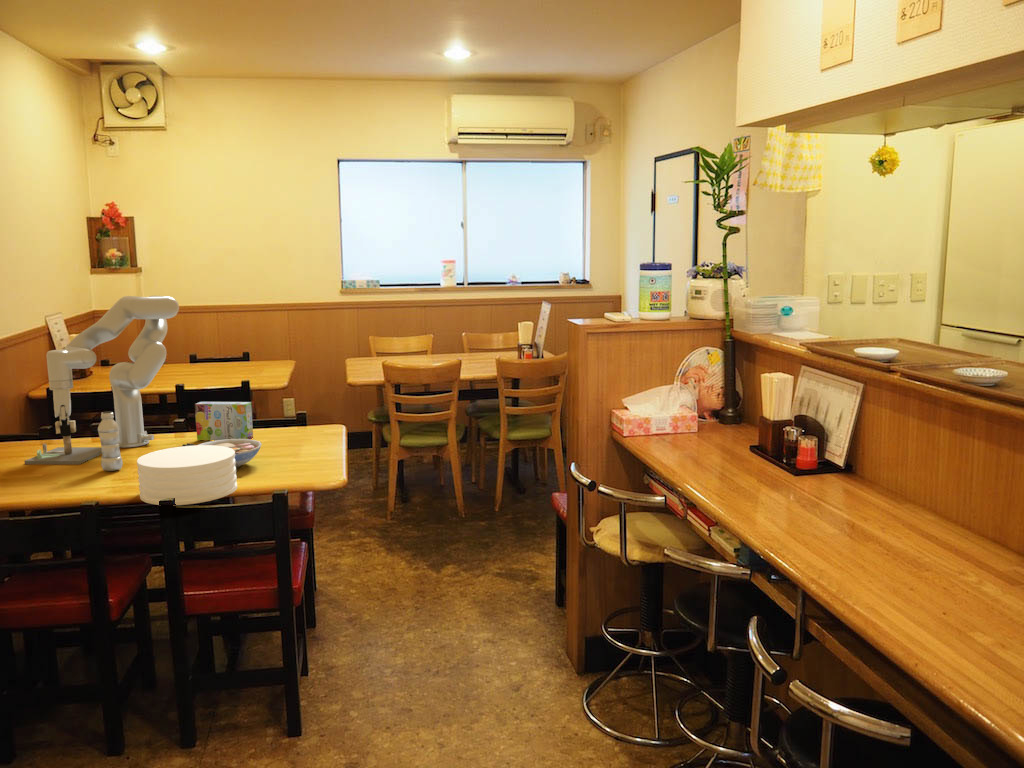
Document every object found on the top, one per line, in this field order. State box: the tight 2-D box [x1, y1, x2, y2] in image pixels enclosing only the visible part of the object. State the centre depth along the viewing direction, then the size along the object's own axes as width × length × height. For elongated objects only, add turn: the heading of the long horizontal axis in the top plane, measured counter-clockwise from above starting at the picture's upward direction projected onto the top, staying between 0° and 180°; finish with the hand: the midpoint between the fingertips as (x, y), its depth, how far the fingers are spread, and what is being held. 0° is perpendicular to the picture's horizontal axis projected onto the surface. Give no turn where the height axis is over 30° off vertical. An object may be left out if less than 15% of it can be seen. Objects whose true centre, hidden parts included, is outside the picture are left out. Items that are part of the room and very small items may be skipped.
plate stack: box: [136, 444, 238, 506], centre depth 258 cm, size 28×28×12 cm
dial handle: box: [42, 419, 77, 454], centre depth 302 cm, size 11×2×12 cm, turn 105°
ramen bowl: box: [181, 439, 262, 469], centre depth 287 cm, size 25×23×8 cm
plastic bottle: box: [97, 411, 124, 472], centre depth 283 cm, size 6×7×20 cm
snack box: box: [194, 401, 254, 441], centre depth 326 cm, size 21×6×15 cm, turn 82°
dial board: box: [23, 446, 102, 465], centre depth 303 cm, size 20×20×3 cm
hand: (66, 434), depth 302 cm, fingers closed on dial handle, 3 cm apart
